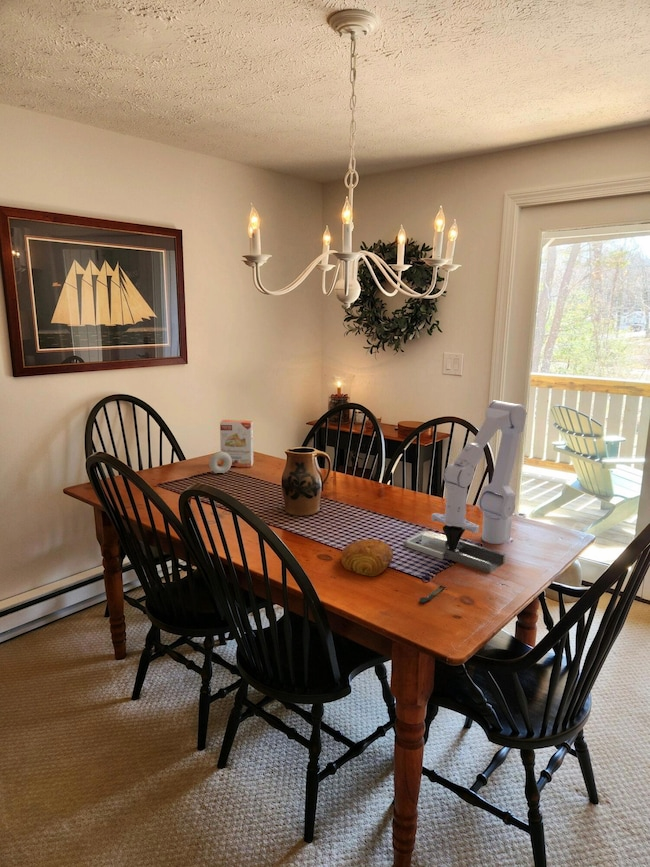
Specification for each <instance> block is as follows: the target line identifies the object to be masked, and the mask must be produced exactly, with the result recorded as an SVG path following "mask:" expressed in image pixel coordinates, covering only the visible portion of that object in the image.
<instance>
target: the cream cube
mask: <svg viewBox="0 0 650 867" xmlns="http://www.w3.org/2000/svg"><path fill="white" fill-rule="evenodd" d="M438 534H439V533H438ZM446 548H448V549H449V545H448V541H447V537H446V535H445V534H442V533H440V534H439V535H437V536H435V537H434V540H433V549H434V550H436V551H439V552H442V553H444V554H445V549H446Z"/></svg>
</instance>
